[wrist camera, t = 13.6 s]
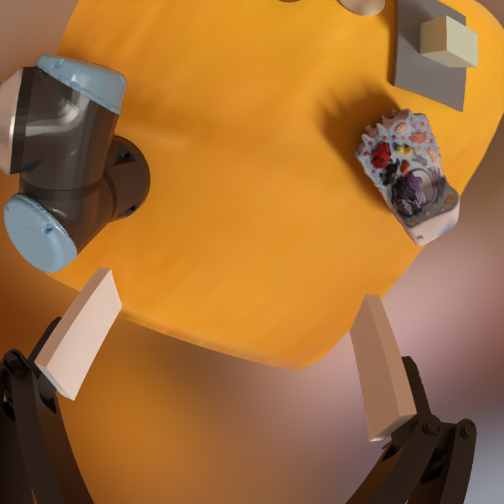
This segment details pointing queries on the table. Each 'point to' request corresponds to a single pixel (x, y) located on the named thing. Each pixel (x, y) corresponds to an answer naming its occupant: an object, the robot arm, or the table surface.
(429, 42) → the sage block
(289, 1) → the dark tin
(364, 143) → the cell model
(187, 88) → the table surface
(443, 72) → the slate board
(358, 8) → the cork coaster
